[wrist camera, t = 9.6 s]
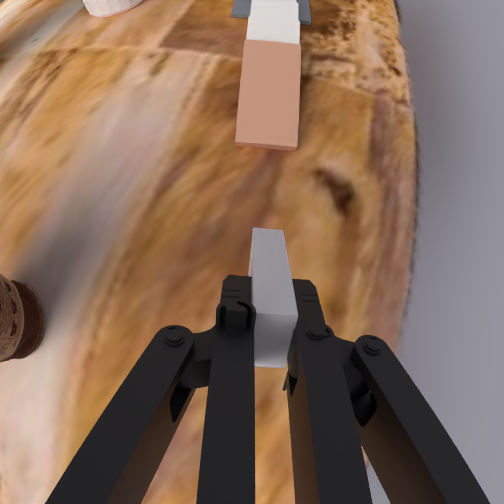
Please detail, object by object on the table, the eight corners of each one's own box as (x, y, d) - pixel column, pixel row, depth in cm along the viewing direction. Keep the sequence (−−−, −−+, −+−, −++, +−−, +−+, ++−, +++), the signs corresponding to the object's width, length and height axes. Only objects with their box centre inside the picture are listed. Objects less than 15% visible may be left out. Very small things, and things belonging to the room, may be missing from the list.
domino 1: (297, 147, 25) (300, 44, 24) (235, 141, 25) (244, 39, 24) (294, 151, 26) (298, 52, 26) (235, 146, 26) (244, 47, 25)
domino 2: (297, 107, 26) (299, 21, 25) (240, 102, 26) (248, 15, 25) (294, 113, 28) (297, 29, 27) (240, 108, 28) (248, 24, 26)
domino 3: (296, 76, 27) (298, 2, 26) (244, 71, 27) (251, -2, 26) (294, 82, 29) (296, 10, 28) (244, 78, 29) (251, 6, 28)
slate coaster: (310, 25, 32) (311, 21, 32) (231, 17, 32) (231, 13, 31) (306, -6, 35) (307, -9, 35) (238, -13, 35) (238, -16, 34)
